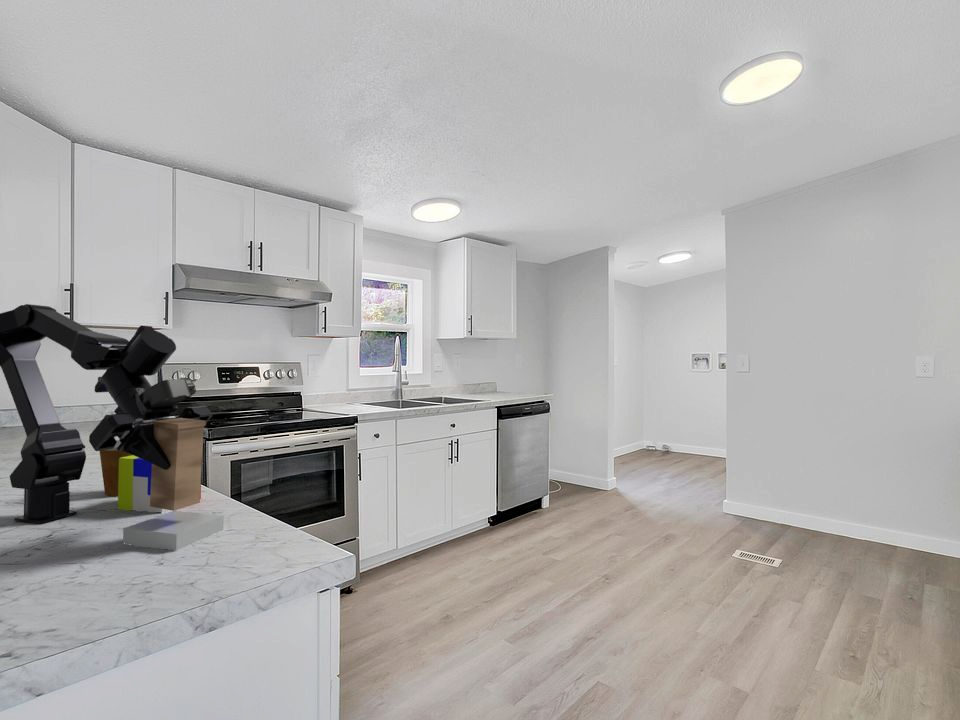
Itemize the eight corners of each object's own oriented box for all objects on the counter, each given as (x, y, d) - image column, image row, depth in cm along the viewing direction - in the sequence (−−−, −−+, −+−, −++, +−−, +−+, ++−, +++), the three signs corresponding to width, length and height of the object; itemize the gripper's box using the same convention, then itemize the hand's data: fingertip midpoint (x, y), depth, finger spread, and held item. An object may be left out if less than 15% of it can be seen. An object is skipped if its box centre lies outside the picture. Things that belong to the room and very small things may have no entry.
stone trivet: (122, 547, 80) (123, 528, 80) (174, 527, 90) (174, 510, 90) (176, 553, 78) (176, 534, 78) (223, 532, 88) (223, 515, 88)
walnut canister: (147, 506, 82) (152, 421, 82) (176, 498, 88) (180, 417, 87) (173, 511, 81) (178, 424, 81) (201, 502, 86) (205, 420, 86)
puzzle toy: (162, 513, 97) (163, 460, 97) (117, 509, 99) (118, 457, 99) (200, 500, 107) (201, 452, 107) (159, 496, 109) (160, 449, 109)
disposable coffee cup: (83, 496, 108) (85, 439, 108) (124, 486, 117) (125, 433, 117) (120, 499, 105) (122, 441, 106) (159, 489, 115) (160, 435, 115)
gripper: (104, 361, 77) (159, 440, 73) (205, 362, 94) (253, 425, 91) (65, 411, 79) (116, 490, 76) (171, 402, 97) (216, 466, 93)
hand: (182, 464), depth 84 cm, fingers closed on walnut canister, 5 cm apart
